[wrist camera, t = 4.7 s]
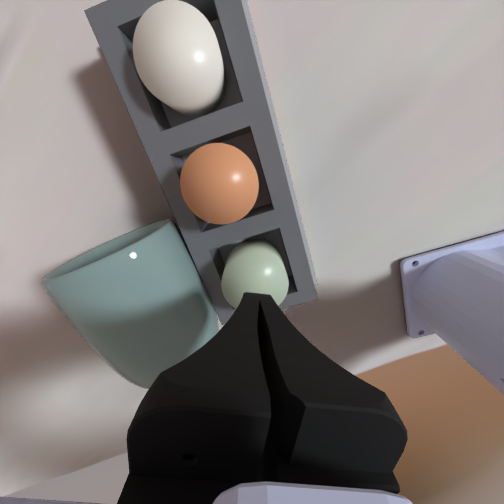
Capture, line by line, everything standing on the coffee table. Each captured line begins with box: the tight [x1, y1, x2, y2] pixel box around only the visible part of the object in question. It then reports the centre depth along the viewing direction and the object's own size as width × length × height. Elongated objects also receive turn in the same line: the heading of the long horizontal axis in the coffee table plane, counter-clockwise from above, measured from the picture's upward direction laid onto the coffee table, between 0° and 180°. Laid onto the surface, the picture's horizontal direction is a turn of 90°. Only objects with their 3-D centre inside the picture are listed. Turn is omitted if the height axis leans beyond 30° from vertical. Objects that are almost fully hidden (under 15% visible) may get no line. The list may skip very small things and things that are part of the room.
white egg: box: [133, 0, 227, 118], centre depth 12 cm, size 4×4×3 cm
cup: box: [42, 219, 219, 389], centre depth 16 cm, size 8×8×10 cm
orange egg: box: [180, 143, 259, 224], centre depth 13 cm, size 4×4×3 cm
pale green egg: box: [221, 239, 289, 309], centre depth 15 cm, size 4×4×3 cm
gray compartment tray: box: [84, 0, 318, 325], centre depth 15 cm, size 8×20×3 cm, turn 18°
